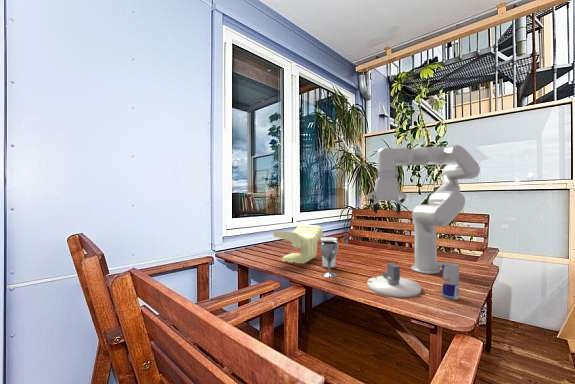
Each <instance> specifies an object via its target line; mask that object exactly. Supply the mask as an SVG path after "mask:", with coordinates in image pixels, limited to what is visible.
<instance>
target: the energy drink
mask: <svg viewBox="0 0 575 384" xmlns="http://www.w3.org/2000/svg"><path fill="white" fill-rule="evenodd" d="M442 263H443V265H442V267H441V295H442V297H443V298H444V299H446V300H450V301H451V300H452V301H457V300H459V299H460V266H459V264H458V263H454V262H442Z"/></svg>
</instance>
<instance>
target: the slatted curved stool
mask: <svg viewBox="0 0 575 384" xmlns="http://www.w3.org/2000/svg"><path fill="white" fill-rule="evenodd" d="M296 226H297V227H296V228H295V229H294V230H293V231H291V232H290V231H280V230H279V231H278V230H273V231H272V234H273V237H274V238H278V239H281V240H286V241H289V242H290V243H291V245H292V248H296V249H297V248H298V249H300V253H294V252H292V253H289V254H286V255H285V256H282V257H281V258H282V259H281V262H285V261H288V262H287V263H293V262H295V263H294V264H300V263H302V264H306V263H308V262H309V261H311V260H313V259H314V258H316V256H317V250H318V242H319V240H321V238H324V237H323V236H324V235H323V234H324V233H323V231H324V230H323V227H321V226H320V225H314V224H298V225H296Z"/></svg>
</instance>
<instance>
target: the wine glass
mask: <svg viewBox="0 0 575 384" xmlns="http://www.w3.org/2000/svg"><path fill="white" fill-rule="evenodd" d="M338 250H339V242H338V241H337V242H335V241H322V242H321V241H320V252H321V256H322V255H323V256H324V258H325V259H326V260H327V262H328V267H327V268H328V272H323V273H321V276H322V277H325V278H336V277H338V274H337V273H335V272H331V267H330V266H331V261H332V260H333V259H334V257H335V256H337V254H338Z"/></svg>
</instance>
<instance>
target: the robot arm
mask: <svg viewBox="0 0 575 384" xmlns="http://www.w3.org/2000/svg"><path fill="white" fill-rule="evenodd" d="M431 165H433V166H434V165H445V166H444V167H443V169H442V179H443V180H442V181H443V182H442V184H441V185H440V186H439V187H438V189H436V190H435V191H434V192H433V193H432V194H431V195H430V197H429V198H428V201H427V203H428V204H426V203H425V204H424V203H423V204H418V205H416V206H415V207H414V208H413V209H412V212H411V217H412V222H413V227H414V228H413V229H414V264H412V265H411V266H410V268H411V270H412V271H414V272H417V273H421V274H426V275H427V274H428V275H430V274H432V275H433V274H440V273H441V269H442V265H443V263H444V262H439V261H437V259H438V258H437V257H438V256H437V252H438V251H437V243H438V242H437V231H436V229H435V227H446V226H448V225H449V224H450V223H452V221H453V220H454V219H455V218H456V217H457V216H458V215H459V214H460V213H461V212H462V211H463V210H464V207H465V204H466V198H465V196H464V195H463V193H462V192H461V187H460V184H459V180H470V179H475V178H477V177H478V176H479V174H480V171H481V169H480V168H481V167H480V165H479V163H478V161H476V159H475V158H474V157H473V156H472V154H470V152H469V151H468V150H467V149H465V148H464V147H463V146H461V145H459V144H455V145H448V146H422V147H417V148H408V147H399V148H393V147H383V148H379V149H378V150H377V178H376V179H375V183H374V191H372V192H370V193H368V194H367V195H366V197H367V199H368V201H369V202H370V203H371V204H372V211H373V212H374V214H378V205H377V204H378V202H379V201H390V202H391V201H394V202H395V203H396V204H395V213H396V214H397V215H398V214H400V212H402V211H401V208H402V207H401V206H402V204H403V203H404V202H405V200H406V198H407V196H408V195H407V194H405V193H404V192H402V191H399V182H398V178H396V177H399V175H400V173H399V172H397V171H396V167H398V166H399V167H400V166H431ZM372 196H374V200H373V199H372ZM400 196H402V197H401V199H399V198H400Z"/></svg>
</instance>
